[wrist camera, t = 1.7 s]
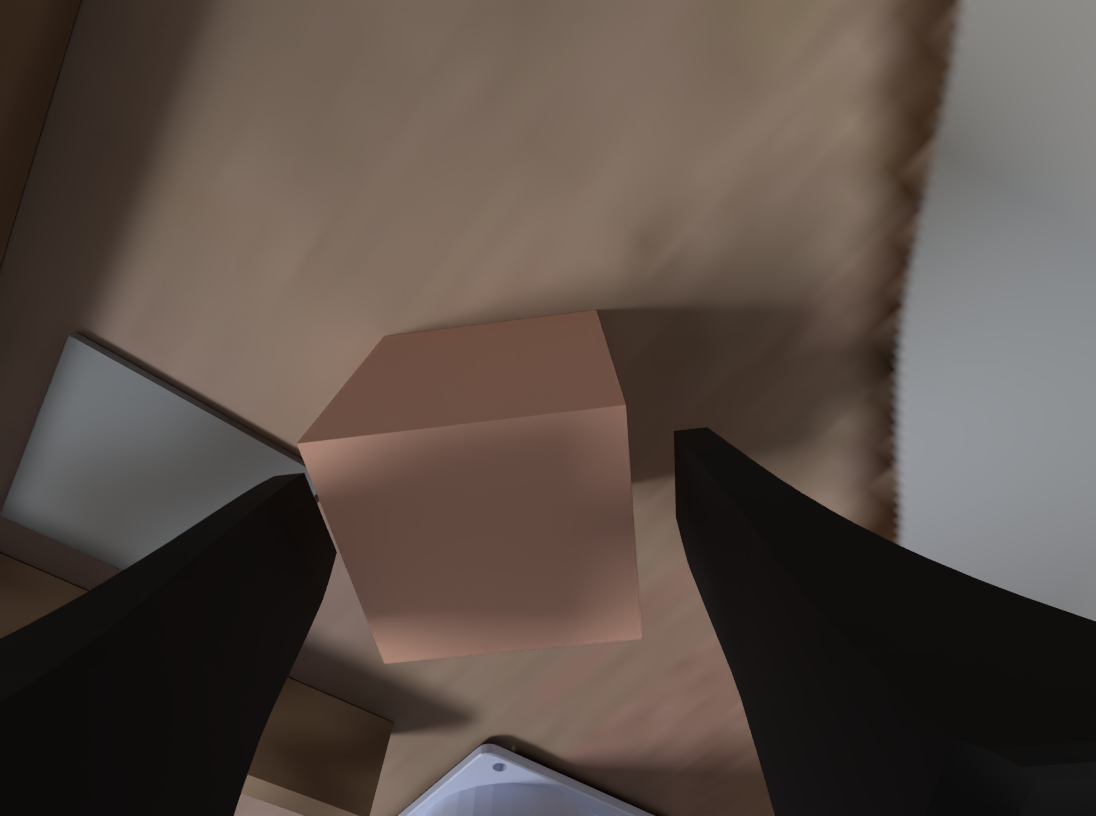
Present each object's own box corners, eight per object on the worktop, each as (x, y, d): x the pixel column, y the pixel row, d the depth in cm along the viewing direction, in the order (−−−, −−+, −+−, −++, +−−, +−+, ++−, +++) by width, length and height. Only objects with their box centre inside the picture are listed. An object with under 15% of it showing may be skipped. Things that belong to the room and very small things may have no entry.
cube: (595, 308, 12) (626, 404, 8) (611, 485, 14) (642, 638, 10) (384, 335, 12) (296, 443, 8) (432, 505, 15) (384, 663, 10)
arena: (762, 362, 13) (821, 421, 10) (379, 736, 19) (352, 832, 17) (66, -222, 8) (-165, -395, 6) (-124, 525, 15) (-271, 610, 12)
